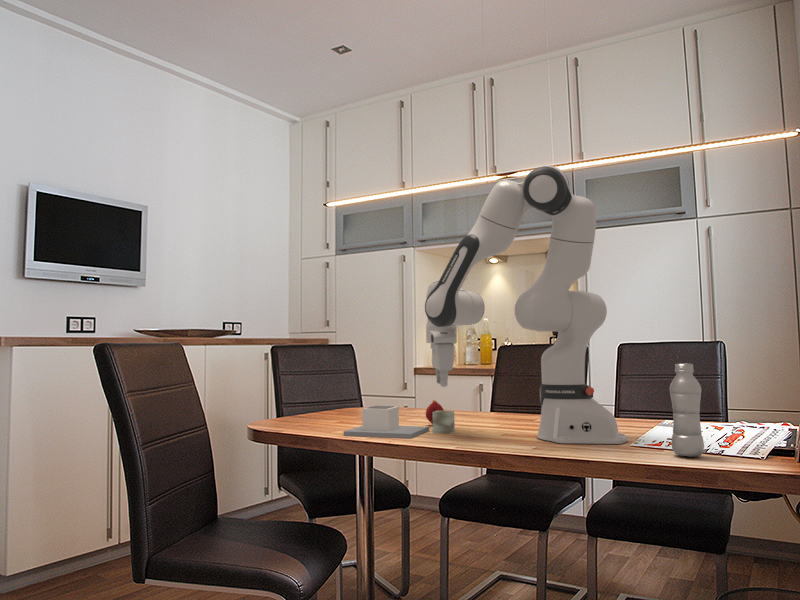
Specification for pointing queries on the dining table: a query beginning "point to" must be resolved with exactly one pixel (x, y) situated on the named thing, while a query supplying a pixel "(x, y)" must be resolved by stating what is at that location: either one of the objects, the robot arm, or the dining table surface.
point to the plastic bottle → (686, 412)
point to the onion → (433, 410)
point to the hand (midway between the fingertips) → (441, 385)
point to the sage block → (443, 422)
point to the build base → (389, 434)
